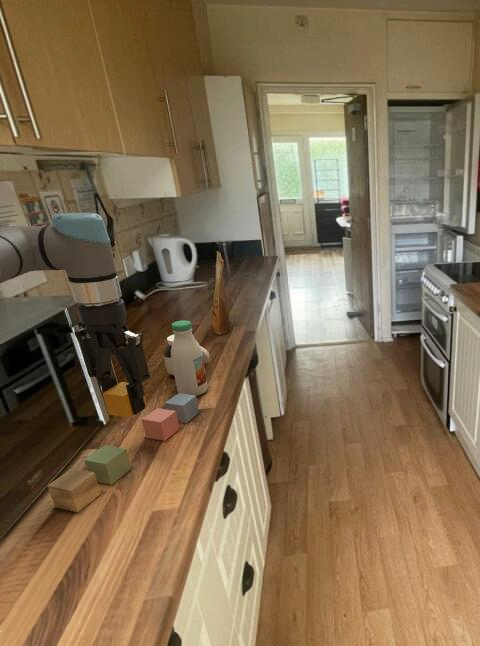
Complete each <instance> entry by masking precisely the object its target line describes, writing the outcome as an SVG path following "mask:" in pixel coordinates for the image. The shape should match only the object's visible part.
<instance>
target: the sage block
mask: <svg viewBox="0 0 480 646" xmlns="http://www.w3.org/2000/svg"><path fill="white" fill-rule="evenodd" d="M83 462H84V465H85V468H86V471H89V472H94V473H95V476H96V479H97V482H98V483H101V484H105V485H112V486H113V485H114V484H115V483H116V482H117V481H118V480H120V479H121V478H122V477H123V476H125V475H126V474H127V473H128V472H129V471H131V469H132V466H131V463H130V459H129V455H128V451H127V448H123V447H118V446H114V445H113V446H112V445H107V444H104V445H103V446H101V447H100V448H99V449H97V450H96V451H94V452H93V453H92V454H90V455H89V456H87V457H86V458H85V459H84V460H83Z"/></svg>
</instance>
